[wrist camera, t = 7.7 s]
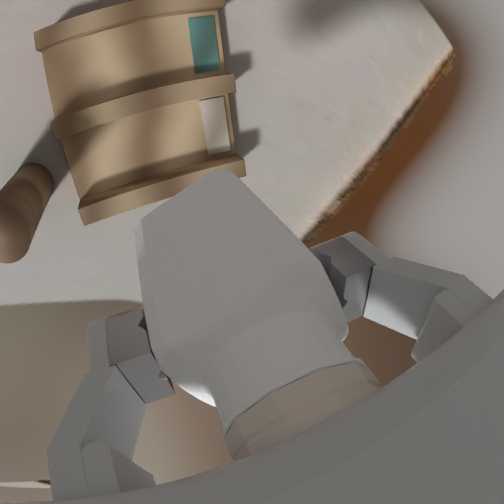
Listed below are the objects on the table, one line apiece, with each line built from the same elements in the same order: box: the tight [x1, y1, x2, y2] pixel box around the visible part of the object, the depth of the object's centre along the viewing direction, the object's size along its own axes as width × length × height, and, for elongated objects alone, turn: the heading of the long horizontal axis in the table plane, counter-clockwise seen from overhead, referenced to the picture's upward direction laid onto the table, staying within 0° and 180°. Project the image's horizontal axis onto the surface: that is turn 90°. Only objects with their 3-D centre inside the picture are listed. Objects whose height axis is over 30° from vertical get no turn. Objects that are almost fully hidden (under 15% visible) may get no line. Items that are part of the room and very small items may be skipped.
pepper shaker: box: [134, 168, 381, 461], centre depth 8 cm, size 4×4×10 cm
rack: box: [34, 0, 246, 226], centre depth 20 cm, size 14×16×3 cm
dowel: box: [0, 163, 53, 263], centre depth 18 cm, size 4×4×9 cm
